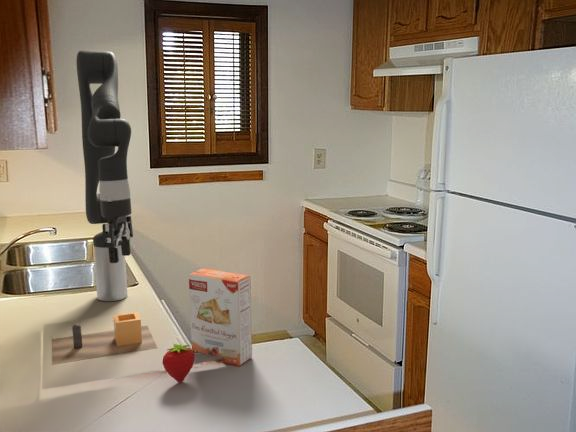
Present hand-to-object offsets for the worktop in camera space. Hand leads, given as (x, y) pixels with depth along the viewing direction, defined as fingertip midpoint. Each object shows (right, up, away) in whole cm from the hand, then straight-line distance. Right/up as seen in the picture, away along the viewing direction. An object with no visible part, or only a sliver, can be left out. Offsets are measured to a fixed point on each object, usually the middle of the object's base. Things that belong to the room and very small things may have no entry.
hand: (120, 259), depth 155 cm
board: (-2, -22, -7) cm, 23 cm away
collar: (+3, -20, -5) cm, 21 cm away
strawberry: (+20, -26, -24) cm, 40 cm away
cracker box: (+28, -23, -12) cm, 38 cm away
